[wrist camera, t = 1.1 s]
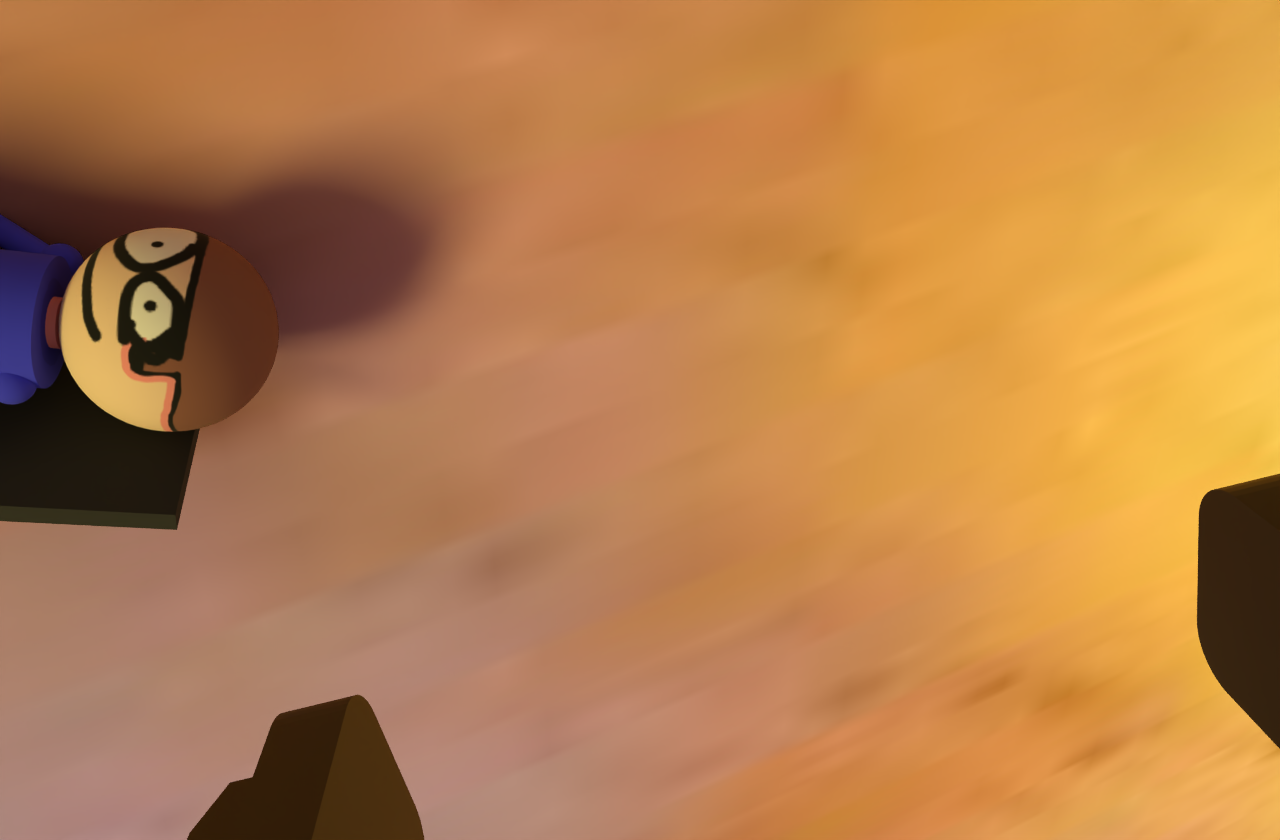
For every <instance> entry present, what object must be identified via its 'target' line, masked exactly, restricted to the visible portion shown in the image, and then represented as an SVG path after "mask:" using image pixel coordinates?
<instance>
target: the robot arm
mask: <svg viewBox="0 0 1280 840" xmlns="http://www.w3.org/2000/svg"><path fill="white" fill-rule="evenodd" d="M1197 628H1198V635H1199V639H1200V643H1201V647H1202V650H1203V653H1204V655H1205V658H1206V660H1207V662H1208V664H1209V666H1210V668H1211V670H1212V672H1213V674H1214V675H1215V677H1216V679H1217V680H1218V682H1219V683H1220V684H1221V686H1222V687H1223V688H1224V690H1225V691H1226V692H1227V693H1228V694H1229V695H1230V696H1231V697H1232V698H1233V699H1234V701H1235V702H1236V703H1237V704H1238V705H1239V706H1240V707H1241V708H1242V709H1243V710H1244V711H1245V712H1246V713H1247V714H1248V715H1249V716H1250V718H1251V719H1252V720H1253V721H1254V722H1255V723H1256V724H1257V725H1258V726H1259V727H1260V728H1261V729H1262V730H1263V731H1264V732H1265V733H1266V735H1267V736H1268V737H1269V738H1270V739H1271V740H1272V741H1273V742H1274V743H1275V744H1276V745H1277V746H1278V747H1279V748H1280V474H1277V475H1272V476H1268V477H1264V478H1260V479H1256V480H1252V481H1248V482H1244V483H1239V484H1235V485H1231V486H1227V487H1223V488H1219V489H1215V490H1211V491H1209V492H1208V493H1207V494H1206V495H1205V496H1204V497H1203V499H1202V501H1201V505H1200V509H1199V536H1198V595H1197ZM187 840H424V835H423V830H422V825H421V821H420V818H419V815H418V812H417V809H416V806H415V804H414V802H413V800H412V797H411V795H410V793H409V790H408V788H407V786H406V784H405V781H404V779H403V777H402V775H401V772H400V770H399V768H398V766H397V763H396V761H395V759H394V757H393V754H392V752H391V750H390V748H389V745H388V743H387V741H386V739H385V736H384V734H383V732H382V730H381V727H380V725H379V723H378V720H377V718H376V716H375V714H374V712H373V710H372V708H371V706H370V704H369V703H368V701H367V700H366V699H365V698H364V697H362V696H360V695H354V696H350V697H346V698H342V699H338V700H334V701H330V702H326V703H321V704H317V705H313V706H309V707H305V708H301V709H297V710H293V711H288V712H284V713H281V714H279V715H278V716H277V717H276V718H275V720H274V721H273V723H272V725H271V728H270V731H269V733H268V736H267V739H266V742H265V744H264V747H263V750H262V753H261V756H260V758H259V761H258V764H257V767H256V770H255V772H254V775H253V777H252V778H248V779H244V780H239V781H235V782H231V783H229V785H228V786H227V787H226V788H225V790H224V791H223V792H222V793H221V795H220V796H219V797H218V798H217V800H216V801H215V802H214V803H213V805H212V806H211V807H210V808H209V810H208V811H207V812H206V813H205V815H204V816H203V817H202V818H201V820H200V821H199V822H198V823H197V825H196V826H195V827H194V828H193V829H192V831H191V832H190V833H189V836H188V838H187Z"/></svg>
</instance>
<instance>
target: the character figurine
mask: <svg viewBox="0 0 1280 840" xmlns="http://www.w3.org/2000/svg"><path fill="white" fill-rule="evenodd" d="M0 247H1V248H3V249H0V521H12V522H32V523H52V524H72V525H92V526H112V527H132V528H153V529H173V530H177V527H178V522H179V518H180V514H181V509H182V505H183V500H184V496H185V491H186V487H187V482H188V478H189V474H190V469H191V465H192V460H193V456H194V451H195V447H196V442H197V438H198V434H199V429H200V428H203V427H206V426H209V425H212V424H215V423H217V422H219V421H222V420H224V419H226V418H227V417H229V416H231V415H233V414H234V413H236V412H237V411H238V410H240V409H241V408H242V407H244V406H245V405H246V404H247V403H248V402H249V401H250V400H251V399H252V398H253V397H254V396H255V395H256V394H257V392H258V391H259V390H260V389H261V387H262V386H263V384H264V383H265V381H266V379H267V377H268V375H269V373H270V371H271V369H272V367H273V364H274V361H275V357H276V353H277V348H278V338H279V326H278V319H277V312H276V308H275V305H274V302H273V299H272V296H271V294H270V292H269V290H268V288H267V286H266V284H265V282H264V281H263V279H262V278H261V276H260V275H259V273H258V272H257V271H256V270H255V268H254V267H253V266H252V265H251V264H250V263H249V262H248V261H247V260H246V259H245V258H244V257H243V256H242V255H240V254H239V253H238V252H237V251H235V250H234V249H232V248H231V247H229V246H228V245H226V244H225V243H223V242H221V241H219V240H217V239H215V238H212V237H210V236H207V235H205V234H202V233H198V232H195V231H190V230H185V229H179V228H152V229H145V230H140V231H135V232H132V233H129V234H126V235H123V236H121V237H118V238H116V239H114V240H112V241H110V242H108V243H107V244H105V245H104V246H102V247H101V248H99V249H98V250H96V251H95V252H94V253H93V254H91V255H90V256H89V257H88V258H87V259H86V260H85V261H83V258H82V256H81V254H80V253H79V252H78V251H77V250H76V249H75V248H74V247H72V246H70V245H67V244H62V243H57V244H52V245H48V244H47V243H45V242H43V241H42V240H40V239H39V238H37V237H35V236H34V235H32V234H31V233H29V232H28V231H26V230H24V229H23V228H21V227H20V226H18V225H17V224H15V223H13V222H12V221H10V220H9V219H7V218H6V217H4V216H2V215H1V214H0Z"/></svg>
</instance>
